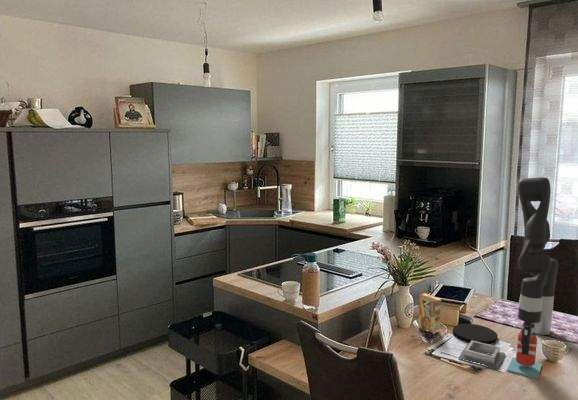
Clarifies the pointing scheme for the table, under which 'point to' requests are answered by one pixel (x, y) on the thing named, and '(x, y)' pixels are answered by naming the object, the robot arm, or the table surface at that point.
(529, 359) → the beverage can
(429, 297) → the candy box
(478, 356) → the can holder
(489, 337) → the black round disc
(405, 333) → the table surface
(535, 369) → the mat
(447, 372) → the table surface
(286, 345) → the table surface
